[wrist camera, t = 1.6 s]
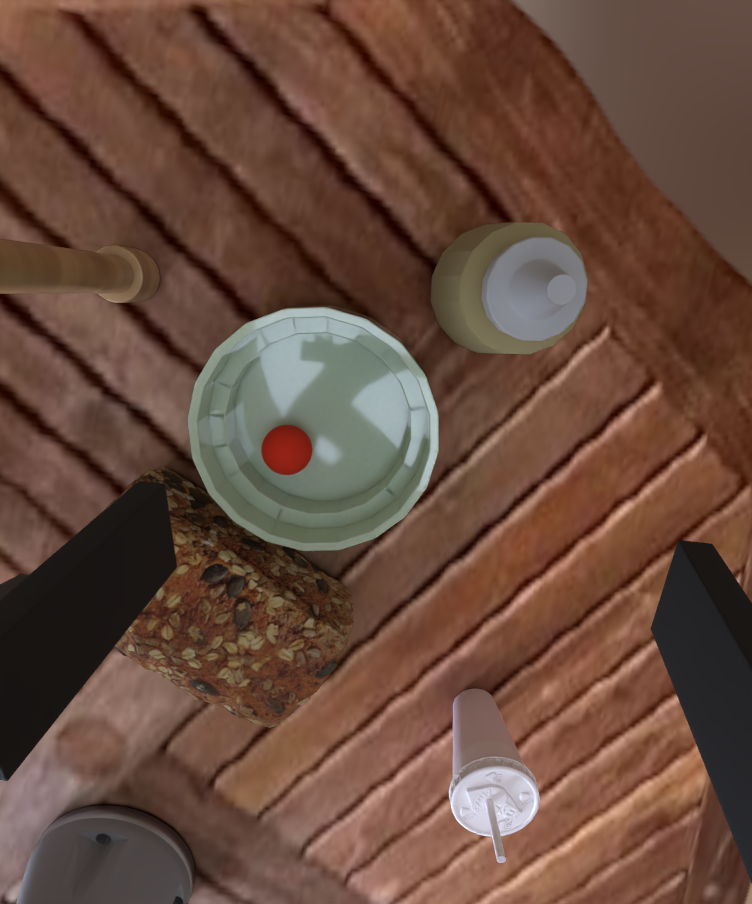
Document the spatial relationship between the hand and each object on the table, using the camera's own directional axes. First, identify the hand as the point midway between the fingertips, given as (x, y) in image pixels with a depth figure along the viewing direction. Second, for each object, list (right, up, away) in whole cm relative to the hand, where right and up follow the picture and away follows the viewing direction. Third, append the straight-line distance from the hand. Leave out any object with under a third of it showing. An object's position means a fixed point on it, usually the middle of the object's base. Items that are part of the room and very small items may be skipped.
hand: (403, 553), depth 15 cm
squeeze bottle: (+7, +14, +25) cm, 30 cm away
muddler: (-18, +15, +25) cm, 34 cm away
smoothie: (+8, -19, +35) cm, 40 cm away
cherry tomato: (-7, +3, +26) cm, 27 cm away
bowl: (-5, +5, +28) cm, 28 cm away
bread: (-13, -7, +31) cm, 34 cm away
